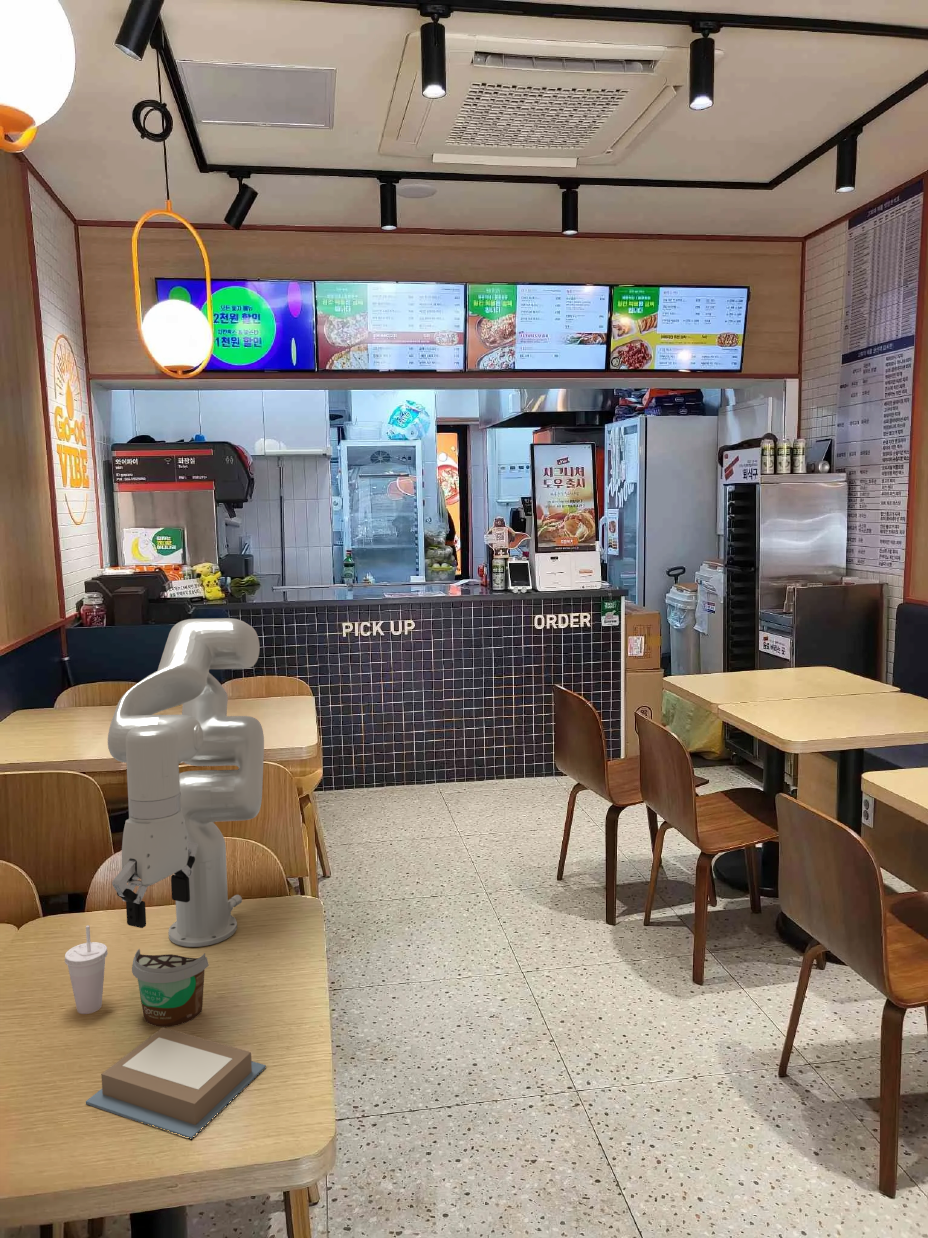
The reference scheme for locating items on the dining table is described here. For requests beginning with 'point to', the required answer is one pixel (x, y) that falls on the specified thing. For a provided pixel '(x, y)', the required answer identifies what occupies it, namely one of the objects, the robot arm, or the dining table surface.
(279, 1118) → the dining table surface
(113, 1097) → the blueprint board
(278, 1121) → the dining table surface
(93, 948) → the smoothie
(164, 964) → the food container
